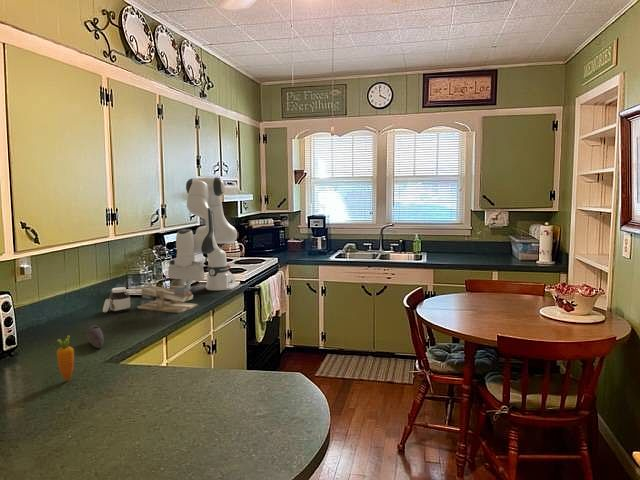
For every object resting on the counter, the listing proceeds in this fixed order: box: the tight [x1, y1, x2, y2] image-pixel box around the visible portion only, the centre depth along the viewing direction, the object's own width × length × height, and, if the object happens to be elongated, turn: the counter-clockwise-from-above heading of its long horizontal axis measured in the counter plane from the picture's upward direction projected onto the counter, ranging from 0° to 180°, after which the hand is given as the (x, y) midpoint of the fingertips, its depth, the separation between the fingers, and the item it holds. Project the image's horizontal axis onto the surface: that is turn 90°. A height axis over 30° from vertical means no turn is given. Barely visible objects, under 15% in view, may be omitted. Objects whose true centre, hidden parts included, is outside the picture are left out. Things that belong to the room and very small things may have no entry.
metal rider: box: [174, 285, 190, 296], centre depth 247 cm, size 4×6×4 cm, turn 67°
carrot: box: [56, 335, 75, 382], centre depth 156 cm, size 5×5×15 cm
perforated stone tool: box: [86, 324, 105, 349], centre depth 192 cm, size 15×5×7 cm, turn 34°
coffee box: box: [168, 277, 188, 287], centre depth 271 cm, size 9×6×16 cm
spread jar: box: [102, 286, 131, 314], centre depth 244 cm, size 12×11×12 cm
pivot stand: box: [136, 285, 199, 314], centre depth 251 cm, size 15×27×10 cm, turn 67°
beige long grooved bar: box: [141, 285, 194, 303], centre depth 251 cm, size 8×27×6 cm, turn 67°
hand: (186, 288), depth 245 cm, fingers closed
